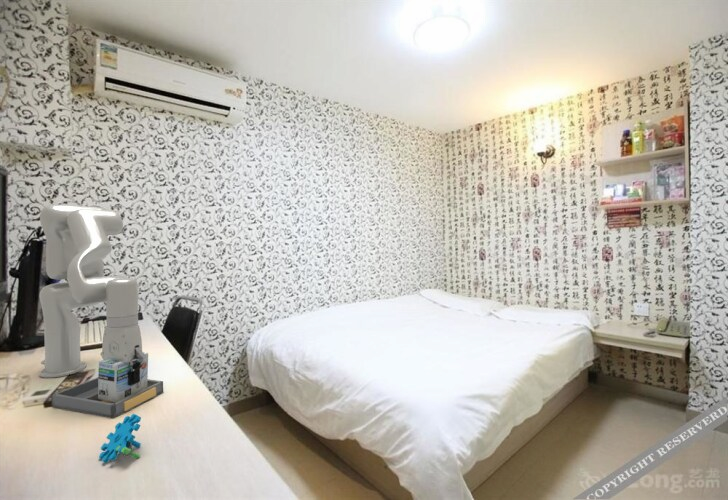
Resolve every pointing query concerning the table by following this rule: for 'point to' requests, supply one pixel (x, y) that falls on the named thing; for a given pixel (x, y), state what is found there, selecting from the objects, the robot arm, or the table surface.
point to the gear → (122, 440)
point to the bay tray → (88, 402)
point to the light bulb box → (119, 380)
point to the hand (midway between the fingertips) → (123, 381)
